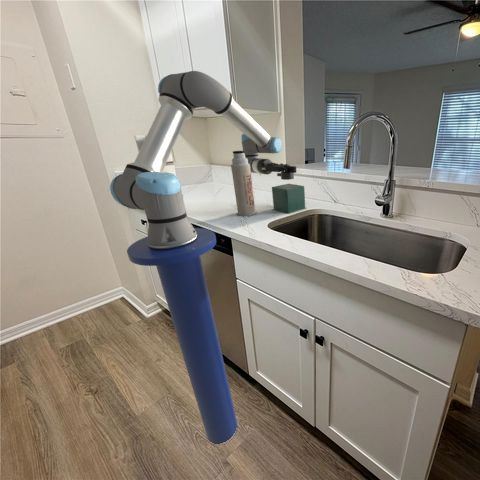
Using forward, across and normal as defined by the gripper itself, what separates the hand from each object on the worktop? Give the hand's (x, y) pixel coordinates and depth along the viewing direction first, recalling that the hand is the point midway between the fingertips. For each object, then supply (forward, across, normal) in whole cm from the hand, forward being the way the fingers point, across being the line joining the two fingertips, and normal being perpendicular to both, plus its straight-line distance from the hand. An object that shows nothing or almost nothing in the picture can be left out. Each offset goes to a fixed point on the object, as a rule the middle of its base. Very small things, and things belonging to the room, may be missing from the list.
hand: (295, 169), depth 117 cm
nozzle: (-7, 0, -4) cm, 9 cm away
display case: (-80, +30, -19) cm, 88 cm away
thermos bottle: (-16, +18, -20) cm, 31 cm away
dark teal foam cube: (-6, 0, -19) cm, 20 cm away
